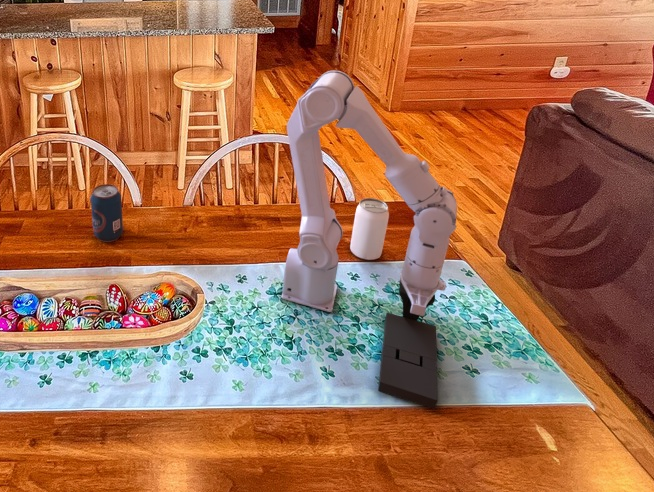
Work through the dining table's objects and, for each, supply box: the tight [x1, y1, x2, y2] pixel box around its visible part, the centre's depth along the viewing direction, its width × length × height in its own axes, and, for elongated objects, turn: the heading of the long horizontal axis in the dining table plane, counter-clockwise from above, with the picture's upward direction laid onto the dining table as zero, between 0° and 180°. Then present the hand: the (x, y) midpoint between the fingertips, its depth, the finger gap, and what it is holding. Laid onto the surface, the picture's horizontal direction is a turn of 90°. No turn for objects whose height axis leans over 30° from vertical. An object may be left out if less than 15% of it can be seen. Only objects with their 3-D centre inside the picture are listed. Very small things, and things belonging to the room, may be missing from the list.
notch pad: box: [377, 344, 439, 410], centre depth 81 cm, size 8×8×2 cm
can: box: [349, 197, 390, 261], centre depth 109 cm, size 6×6×12 cm
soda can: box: [90, 183, 124, 243], centre depth 116 cm, size 7×7×12 cm
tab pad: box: [381, 312, 438, 367], centre depth 87 cm, size 8×10×2 cm
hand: (409, 318), depth 91 cm, fingers closed
